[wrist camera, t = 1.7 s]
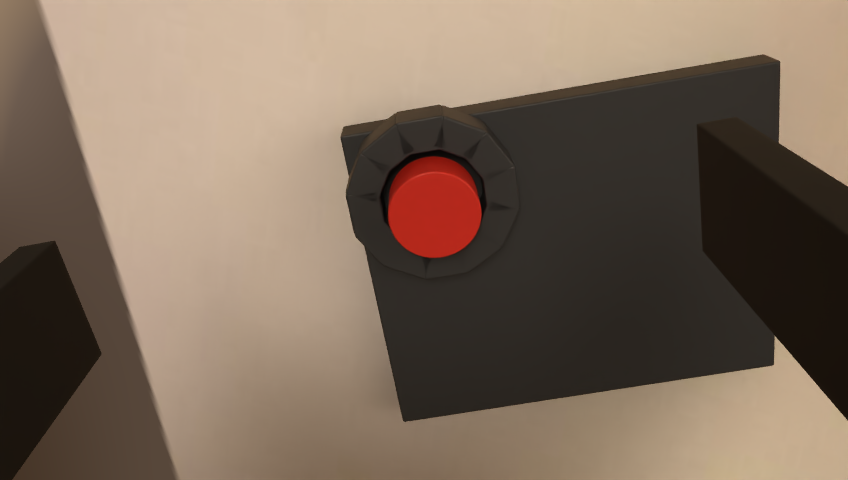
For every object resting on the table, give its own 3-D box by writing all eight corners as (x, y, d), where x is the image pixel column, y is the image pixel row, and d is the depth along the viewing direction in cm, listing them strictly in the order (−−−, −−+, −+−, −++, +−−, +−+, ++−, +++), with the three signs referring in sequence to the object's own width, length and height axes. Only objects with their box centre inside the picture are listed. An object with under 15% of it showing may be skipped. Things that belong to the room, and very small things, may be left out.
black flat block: (402, 403, 34) (402, 446, 32) (338, 112, 29) (331, 134, 26) (760, 348, 34) (791, 387, 31) (764, 38, 28) (803, 53, 25)
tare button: (397, 245, 28) (397, 265, 27) (381, 163, 27) (379, 180, 25) (482, 231, 28) (487, 250, 26) (470, 148, 27) (474, 164, 25)
